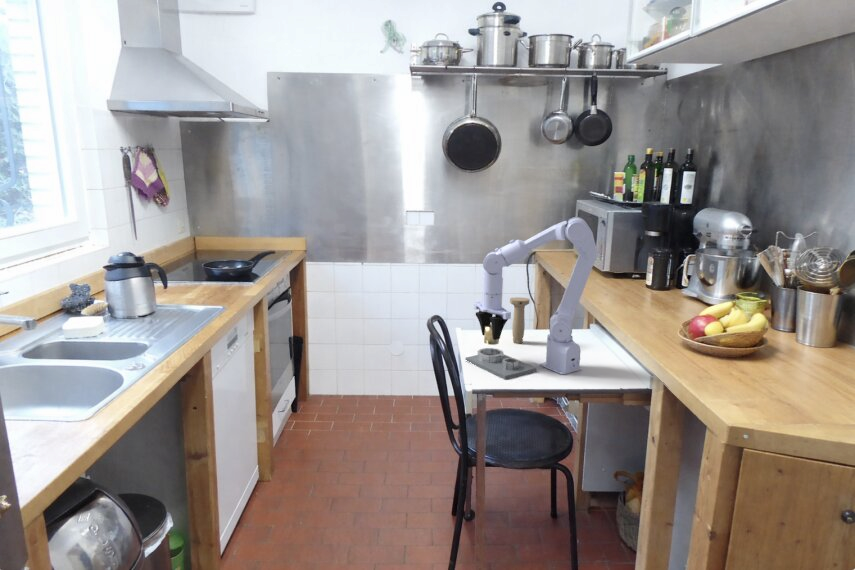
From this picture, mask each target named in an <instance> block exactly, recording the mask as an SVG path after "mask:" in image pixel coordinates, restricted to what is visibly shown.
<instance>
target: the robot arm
mask: <svg viewBox="0 0 855 570" xmlns="http://www.w3.org/2000/svg"><path fill="white" fill-rule="evenodd" d="M565 238H567V240H569V241H570V243H572V244H573V245H574V247H575V248H576V251H577V252H578V256H577V258H576V261H575V264H574V267H573V270H572V273H571V275H570V276H569V277H570V278H569V280H568V282H567V285H566V288H565V290H564V293H563V296H562V299H561V301H560V303H559V305H558V306H557V309H556V311H555V313H553V315H551V316H550V319H549V333H548V334H547V336H546V337H547V339H546V341H547V342H546V352H545V354H546V356H545V361H544V362H541V363H539V364H538V365H539V366H541V367H543V368H545V369H548V370H551V371H552V372H555V373H557V374H559V375H560V374H561V375H567V374H570V373H573V372H576V371H581V370H582V367H580V365H581V363H580V361H581V346H580V345H579V344H578V343H576V341H574V338H573V335H572V334H573V327H572V326H573V322H574V320H575V319H574V318H575V313H576V311H577V308H578V306H579V302H580V300H581V297H582V296H583V292H584V290H585V287H586V285H587V282H588V279H589V277H590V275H591V273H592V269H593V266H594V264H595V262H596V259H597V255H598V248H597V245H596V241H595V238H594V233H593V231H592V229H591V227H590V226H589V225H588V223H587V222H586V221H585V219H584V218H581V217H577V216H574V217H571V218H570V219H568V220H564V221H561V222H559V223H556V224H553V225H552V226H549V227H548V228H546V229H544V230H543V231H540V232H539V233H537V234H535V235H533V236H532V237H529V238H528V239H526V240H521V239H516V240H515V239H511V240H509V243H508V244H506V245H504V246H501V247H500V248H499V247H497V248H494V251H490V252H488V253H487V255H486V256H485V257H484V259H483V261H482V266H483V267H482V268H483V269H484V271H483V278H482V280H483V283H482V302H480V301H478V302H474V303H473V305H474V306H473V308H474V310H478V311H476V312H475V316H476V318H477V320H478V323H479V325H480V330H481V334H482V336H484V334H485V325H490V324H492V335H493V339H494V340H497V339H499V340H500V338H501V335H502V332H503V331H504V330H503V329H504V326H505V325H506V323H507V322H508V320H510V319H512V315H511V314H512V312H511V311H508V310H507V309H505V308H504V307H503V283H504V278H503V268H504V267H509V266H512V265H513V264H515V263H517V262H520V261H522V260H524V259H526V258H527V257H528V255H529V252H530V251H532V250H534V249H537V248H539V247H541V246H543V245H545V244H548V243H550V242H552V241H555V240H557V241H566V239H565Z"/></svg>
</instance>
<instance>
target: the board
mask: <svg viewBox="0 0 855 570" xmlns="http://www.w3.org/2000/svg"><path fill="white" fill-rule="evenodd" d="M505 358H513V357H511V356H510V355H506V354H503V359H505ZM465 360H467V361H469V362H471V363H472V364H471V363H470V364H471V365H473V364H474V365H473V366H475V365H476V367H478V368H480V369H482V370H484V371H487V372H488V373H490V374H493V375H495V376H497V377H499V378H501V379H502V380H508V379H511V378H515V377H519V376H524V375H527V374H530V373H531V374H532V373H535V372H537V367H536V366H533V365H530V364H528V363H525V362H523V361H520V360H519V365H518V369H516V370H507V369H504V368H502V361H501V362H496V363H488V362H482V361H480V360H478V358H477V354H476V355H471V356H466V357H465ZM467 361H466V362H467ZM469 362H468V363H469Z"/></svg>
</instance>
